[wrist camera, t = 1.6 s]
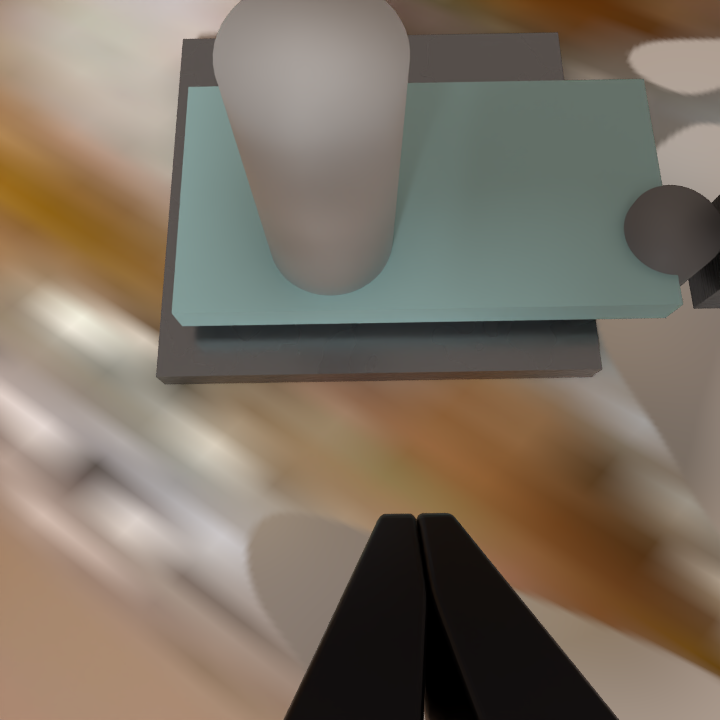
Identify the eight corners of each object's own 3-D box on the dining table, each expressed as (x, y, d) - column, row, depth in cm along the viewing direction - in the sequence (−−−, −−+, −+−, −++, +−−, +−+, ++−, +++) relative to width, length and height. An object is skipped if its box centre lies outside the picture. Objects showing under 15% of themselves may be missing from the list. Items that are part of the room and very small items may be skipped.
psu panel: (776, 373, 22) (890, 325, 17) (165, 384, 22) (110, 338, 17) (707, 48, 26) (784, -64, 21) (189, 57, 26) (150, -52, 21)
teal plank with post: (690, 331, 22) (964, 147, 12) (193, 339, 22) (49, 163, 12) (653, 125, 25) (856, -171, 14) (206, 133, 25) (95, -158, 15)
